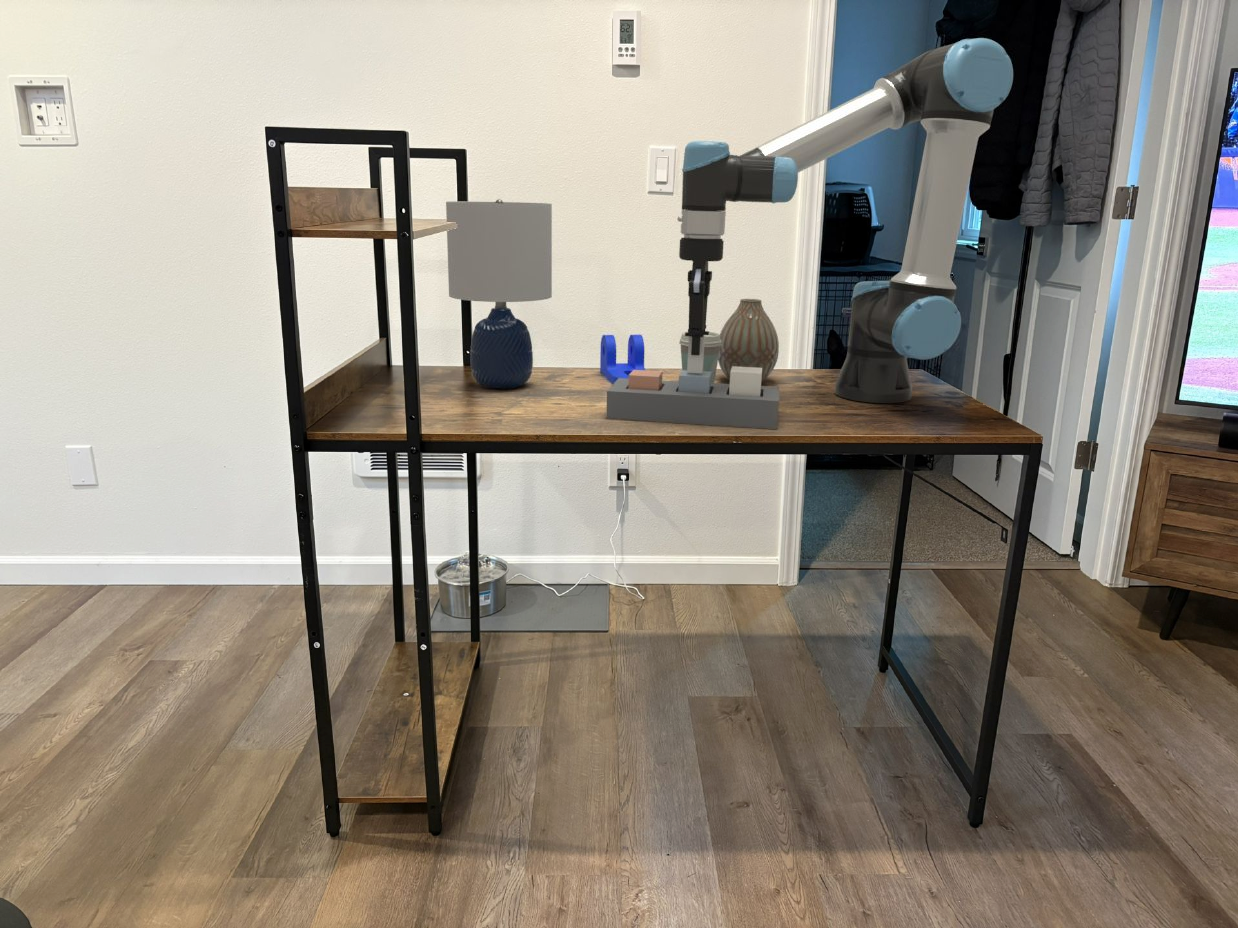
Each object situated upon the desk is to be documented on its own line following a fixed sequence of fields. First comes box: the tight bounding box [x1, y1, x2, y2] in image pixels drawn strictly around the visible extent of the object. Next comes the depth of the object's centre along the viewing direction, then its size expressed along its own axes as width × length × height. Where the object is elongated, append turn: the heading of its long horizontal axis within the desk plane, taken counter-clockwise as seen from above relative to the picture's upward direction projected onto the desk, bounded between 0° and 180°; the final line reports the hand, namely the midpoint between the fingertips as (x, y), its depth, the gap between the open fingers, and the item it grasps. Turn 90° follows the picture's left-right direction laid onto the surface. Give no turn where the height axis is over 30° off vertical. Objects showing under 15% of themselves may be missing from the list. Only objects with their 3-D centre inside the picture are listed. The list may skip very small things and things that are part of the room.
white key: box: [729, 366, 762, 397], centre depth 161 cm, size 5×5×4 cm
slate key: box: [678, 369, 712, 394], centre depth 163 cm, size 5×5×4 cm
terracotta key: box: [628, 369, 663, 391], centre depth 165 cm, size 5×5×4 cm
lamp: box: [445, 198, 553, 390], centre depth 181 cm, size 20×20×37 cm
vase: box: [718, 298, 780, 383], centre depth 194 cm, size 13×13×18 cm
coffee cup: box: [678, 331, 722, 383], centre depth 182 cm, size 9×8×12 cm
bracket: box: [599, 334, 646, 385], centre depth 194 cm, size 18×8×9 cm, turn 12°
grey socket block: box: [606, 378, 780, 430], centre depth 164 cm, size 30×12×5 cm, turn 80°
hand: (695, 372), depth 162 cm, fingers closed
